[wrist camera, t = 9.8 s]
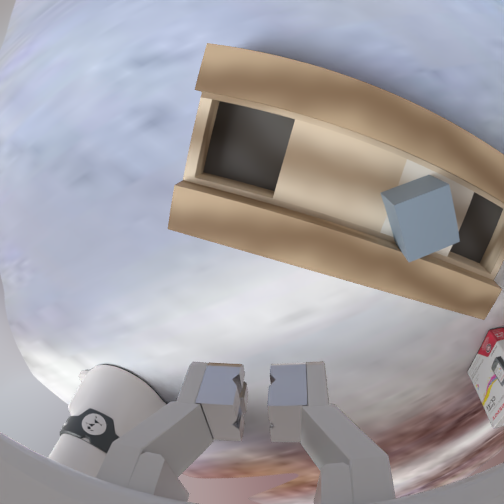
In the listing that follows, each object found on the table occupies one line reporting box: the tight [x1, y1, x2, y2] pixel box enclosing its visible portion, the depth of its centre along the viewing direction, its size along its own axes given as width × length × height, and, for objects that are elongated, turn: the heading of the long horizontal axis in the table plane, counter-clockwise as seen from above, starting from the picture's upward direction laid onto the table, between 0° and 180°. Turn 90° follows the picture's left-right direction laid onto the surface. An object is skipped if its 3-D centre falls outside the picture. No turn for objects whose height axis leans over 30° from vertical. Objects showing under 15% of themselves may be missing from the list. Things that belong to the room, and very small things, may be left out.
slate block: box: [381, 175, 460, 262], centre depth 22 cm, size 5×5×4 cm
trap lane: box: [168, 43, 504, 320], centre depth 24 cm, size 16×34×5 cm, turn 76°
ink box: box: [467, 328, 504, 429], centre depth 27 cm, size 9×5×12 cm, turn 179°
